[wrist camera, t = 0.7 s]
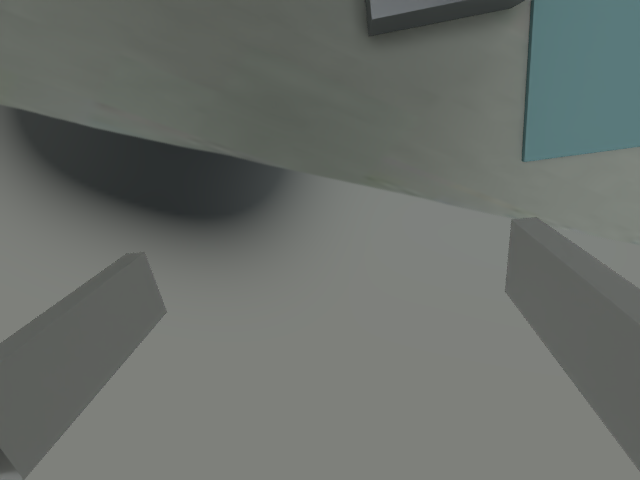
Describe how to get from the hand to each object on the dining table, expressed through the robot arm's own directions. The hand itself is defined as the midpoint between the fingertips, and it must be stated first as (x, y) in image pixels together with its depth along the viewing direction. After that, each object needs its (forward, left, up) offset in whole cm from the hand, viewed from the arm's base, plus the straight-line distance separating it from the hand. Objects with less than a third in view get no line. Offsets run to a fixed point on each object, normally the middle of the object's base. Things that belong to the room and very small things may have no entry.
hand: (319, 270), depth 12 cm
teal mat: (-4, +27, -29) cm, 40 cm away
